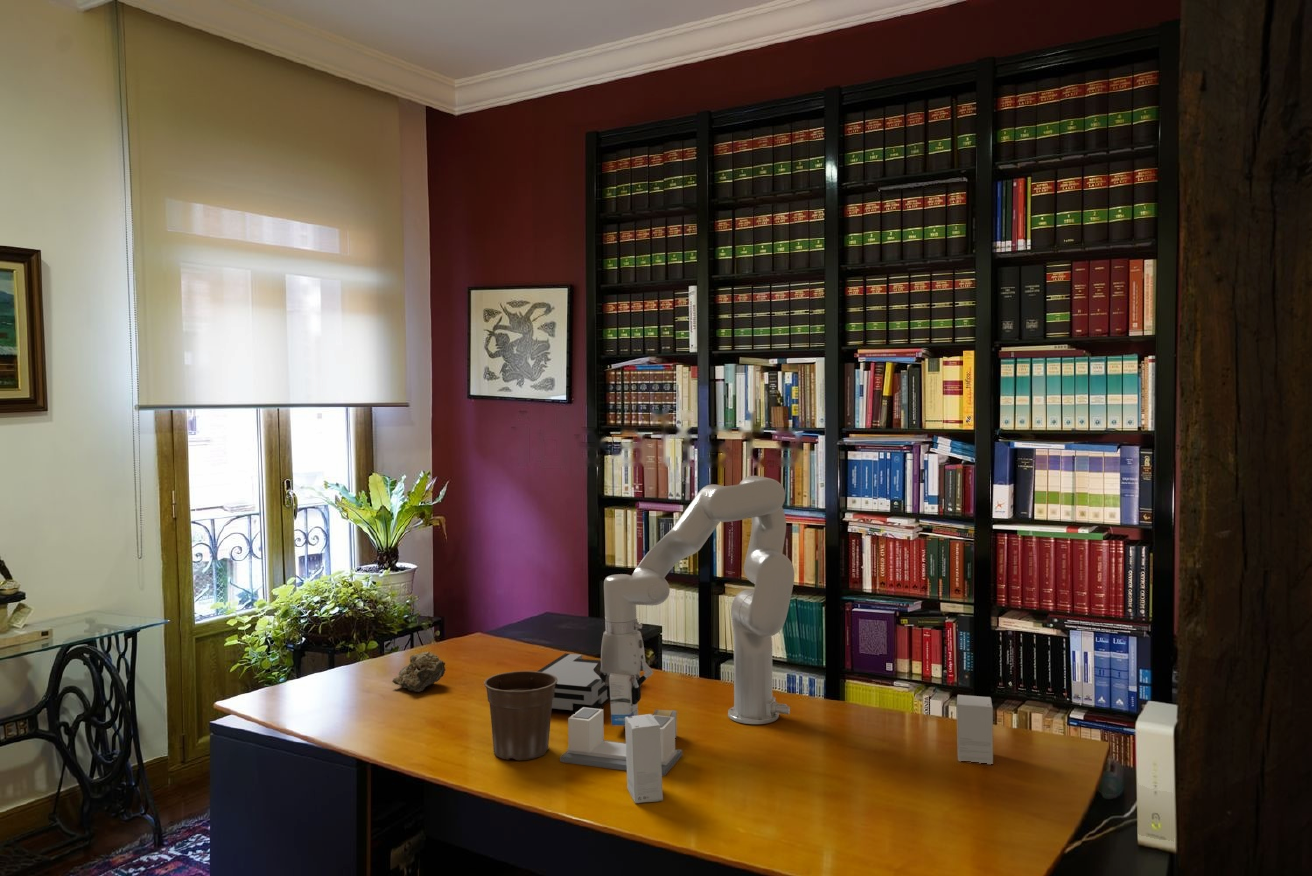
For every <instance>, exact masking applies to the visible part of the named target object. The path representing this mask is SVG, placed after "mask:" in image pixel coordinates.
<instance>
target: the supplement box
mask: <svg viewBox="0 0 1312 876" xmlns="http://www.w3.org/2000/svg"><path fill="white" fill-rule="evenodd" d="M956 698H957V699H956V730H957V732H956V734H957V735H956V739H957V740H956V741H957V742H956V743H957V746H956V747H957V748H956V749H957V761H958V762H961V761H971V762H979V763H978V764H981V763H987V764H986V765H991V764H994V738H993V737H994V732H993V731H994V729H993V728H994V721H993V720H994V719H993V718H994V717H993V716H994V713H993V712H994V707H993V703H992V698H991V696H979V695H978V696H977V695H966V694H957V697H956ZM971 762H970V763H971Z"/></svg>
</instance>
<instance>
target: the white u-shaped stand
mask: <svg viewBox="0 0 1312 876" xmlns="http://www.w3.org/2000/svg"><path fill="white" fill-rule="evenodd" d="M652 715H653V714H652ZM653 717H654V718H655V719H656V721H657V722H658V723H659V725H660V743H661V766H662V777H663V776H664V777H665V776H666V775H667V774H668V772H670V770H671V769H672V768H673V767H674V766H675V765H676V763H677V762H678V761H679V760H680V759H681V757H682V756H683V749H677V748H676V739H675V717H668V716H658V715H653ZM604 726H605V725H604V708H603V709H602V708H600V709H595V708H586V707H583V708H581V709H580V710H579V711H577V712H576V713H575V714H574V713H572V714H571V716H569V717H568V718H567V727H568V729H567V730H568V731H567V732H568V733H567V734H568V735H567V737H568V738H567V739H568V743H567V744H568V746H567V747H568V748H567V749H566V751H565V752H564V753H563V754H561V755H560V756H559V757H560V758H559V759H560V760H559V761H560V763H566V764H574V765H581V766H587V767H588V766H589V767H594V768H595V767H597V768H604V769H611V770H619V771H624V772H625V771H626V772H627V764H626V742H622V741H621V742H619V741H611V740H604V736H605V735H604V730H605V728H604Z"/></svg>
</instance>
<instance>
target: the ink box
mask: <svg viewBox="0 0 1312 876" xmlns="http://www.w3.org/2000/svg"><path fill="white" fill-rule="evenodd" d="M609 684H610V720H611V725H612V726H625V717H629V716H637V715H639V710H638V709H639V707H638V706H639V705H638V703H637V704H632V688H633V682H632V680H631V676H630V675H624V674H615V673H611V674H610V677H609Z"/></svg>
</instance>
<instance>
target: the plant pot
mask: <svg viewBox="0 0 1312 876" xmlns="http://www.w3.org/2000/svg"><path fill="white" fill-rule="evenodd" d="M537 671H538V670H537ZM537 671H535V670H534V671H533V670H520V671H519V670H518V671H515V670H514V671H509V672H507V671H506V672H503V673H502V672H501V673H497V674H494V675H492V676H490V677H488V678H486V679H485V680H484V682H483V685H484V687H485V688H486V697H487V702H488V703H489V713H490V722H491V736H492V743H493V744H492V745H493V754H494V756H496V757H498V758H500V759H502V760H510V759H513V760H515V761H526V760H527V761H529V760H535V759H538V758H540V757H542V756H544V755H545V754H546V752H548V751H549V744H550V731H551V718H552V709H553V708H552V700H553V698H554V692H555V685H556V684H557V681H558V679H557V677H556V676H554V675H552V674H549V673H544V672H537Z"/></svg>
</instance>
